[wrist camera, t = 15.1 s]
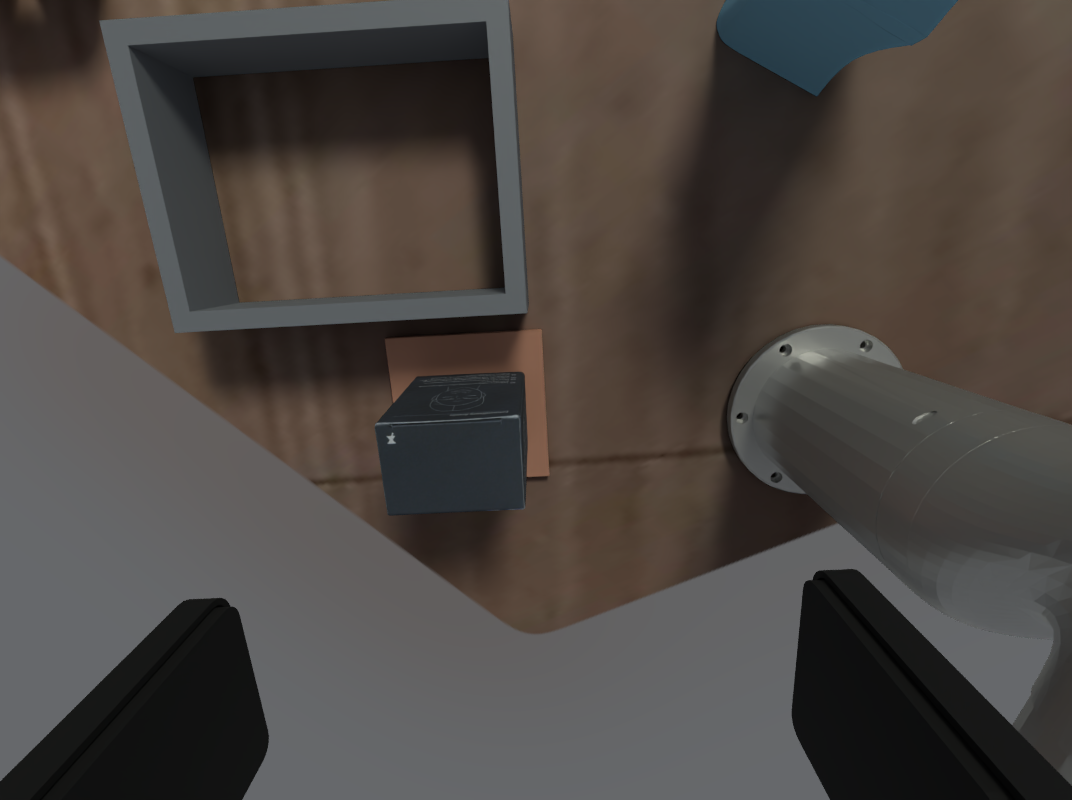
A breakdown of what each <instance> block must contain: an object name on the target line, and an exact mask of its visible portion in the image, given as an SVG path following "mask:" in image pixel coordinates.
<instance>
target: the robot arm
mask: <svg viewBox="0 0 1072 800" xmlns="http://www.w3.org/2000/svg"><path fill="white" fill-rule="evenodd" d="M861 343H862V345H861ZM782 345H783V350H782V351H780V352H779V350H780V347H781V346H782ZM860 345H861V346H860ZM739 413H741V415H740V416H739V417H737V415H738V414H739ZM727 426H728V434H729V437H730V440H731V444H732V447H733V449H734V451H735V452H736V454H737V456H738V457H739V459H740V461H741V462H742V463H743V464H744V465H745V466H746V467H747V469H748V470H749V471H750V472H752V473H753V474H754V475H755V476H756V477H757V478H758V479H760V480H761V481H763V482H764V483H766V484H768V485H769V486H771V487H774V488H777V489H780V490H783V491H786V492H791V493H799V494H807V495H808V496H809V497H811V498H812V499H813V500H814V501H815V502H816V503H817V504H818V505H819V506H820V507H821V508H823V509H824V510H825V511H826V512H827V513H828V514H829V515H830V516H831V517H832V518H833V519H835V520H836V521H837V522H838V523H839V524H840V525H841V526H842V527H843V528H844V529H846V530H847V531H848V532H849V533H850V534H851V535H852V536H853V537H854V538H855V539H856V540H857V541H858V542H860V543H861V544H862V545H863V546H864V547H865V548H866V549H867V550H868V551H869V552H870V553H872V554H873V555H874V556H875V557H876V558H877V559H878V560H879V561H880V562H882V564H884V565H885V566H886V567H887V568H888V569H889V570H890V571H891V572H892V573H893V574H894V575H895V576H896V577H898V579H900V580H901V581H902V582H903V583H904V584H905V585H907V587H908V588H909V589H911V590H912V591H913V592H914V593H915V594H916V595H917V596H919V597H920V598H921V599H922V600H924V601H925V602H926V603H928V604H929V605H930V606H932V607H934V608H935V609H937V610H938V611H940V612H941V613H943V614H945V615H947V616H949V617H950V618H953V619H955V620H957V621H959V622H962V623H964V624H967V625H969V626H972V627H975V628H978V629H982V630H985V631H989V632H994V633H999V634H1004V635H1009V636H1016V637H1025V638H1036V639H1047V640H1054V641H1053V646H1052V649H1051V652H1050V655H1049V657H1048V659H1047V661H1046V663H1045V665H1044V667H1043V669H1042V671H1041V673H1040V675H1039V677H1038V678H1037V680H1036V681H1035V683H1034V685H1033V686H1032V690H1031V696H1030V697H1029V699H1028V700H1027V702H1026V704H1025V706H1024V707H1023V709H1022V710H1021V712H1020V714H1019V715H1018V717H1017V718H1016V720H1015V722H1014V723H1013V725H1011V724H1010V723H1009V722H1008V721H1007V720H1006V719H1005V718H1004V717H1003V716H1002V715H1001V714H1000V713H999V712H998V711H997V710H996V709H995V708H994V707H993V706H992V705H991V704H990V703H989V702H988V701H987V700H986V699H985V698H984V697H983V696H982V695H981V694H980V693H979V692H978V691H977V690H976V689H975V688H974V686H972V684H970V682H969V681H968V680H967V679H966V678H964V676H963V675H962V674H961V673H959V671H957V670H956V668H955V667H954V666H953V665H952V664H951V663H950V662H949V661H948V660H947V659H946V658H945V657H944V656H943V655H942V654H941V653H940V652H939V651H938V650H937V649H936V648H935V647H934V646H933V645H932V644H931V643H930V642H929V641H928V640H927V639H926V638H925V637H924V636H923V635H922V634H921V633H920V632H919V631H918V630H917V629H916V628H915V627H914V626H913V625H912V624H911V623H910V622H909V621H908V620H907V619H906V618H905V617H904V616H903V615H902V614H901V613H900V612H899V611H898V610H897V609H896V608H895V607H894V606H893V605H892V604H891V603H890V602H889V601H888V600H887V599H886V598H885V597H884V596H883V595H882V594H881V593H880V592H879V591H878V590H877V589H876V588H875V587H874V586H873V585H872V584H871V583H870V582H869V581H868V580H867V579H866V578H865V577H864V576H863V575H862V574H861V573H860V572H859V571H857V570H854V569H846V570H823V571H818V572H816V573H815V575H814V577H813V580H809V581H806V582H805V584H804V587H803V596H802V608H801V617H800V628H799V639H798V649H797V660H796V671H795V682H794V692H793V693H794V694H793V703H792V720H793V725H794V729H795V732H796V735H797V737H798V739H799V741H800V743H801V745H802V747H803V749H804V751H805V753H806V755H807V757H808V759H809V760H810V762H811V764H812V766H813V768H814V770H815V772H816V774H817V776H818V777H819V779H820V781H821V783H822V785H823V787H824V789H825V791H826V793H827V794H828V796H829V798H830V800H1072V425H1070V424H1067V423H1064V422H1061V421H1058V420H1055V419H1052V418H1049V417H1046V416H1043V415H1040V414H1036V413H1033V412H1030V411H1027V410H1024V409H1021V408H1018V407H1015V406H1012V405H1009V404H1006V403H1003V402H1000V401H997V400H994V399H991V398H988V397H985V396H982V395H979V394H976V393H973V392H970V391H967V390H964V389H961V388H958V387H955V386H952V385H949V384H946V383H943V382H940V381H937V380H934V379H931V378H928V377H925V376H922V375H919V374H916V373H913V372H910V371H907V370H904V369H903V368H902V366H901V364H900V362H899V360H898V359H897V357H896V356H895V355H894V354H893V352H892V351H891V350H890V349H889V347H887V346H886V345H885V344H884V343H882V342H881V341H880V340H879V339H877V338H876V337H874V336H872V335H870V334H868V333H866V332H864V331H861V330H858V329H854V328H851V327H847V326H840V325H833V324H822V325H811V326H807V327H802V328H798V329H795V330H792V331H790V332H788V333H786V334H783V335H781V336H779V337H777V338H776V339H774V340H773V341H771V342H770V343H768V344H767V345H765V346H764V347H763V348H762V349H761V350H759V351H758V352H757V353H756V354H755V355H754V356H753V357H752V358H751V359H750V360H749V362H748V363H747V364H746V366H745V367H744V368H743V370H742V371H741V372H740V374H739V376H738V378H737V380H736V382H735V384H734V386H733V388H732V392H731V395H730V399H729V402H728V410H727ZM773 473H774V474H773ZM772 474H773V475H772ZM268 739H269V735H268V729H267V725H266V721H265V717H264V713H263V709H262V704H261V700H260V696H259V692H258V688H257V684H256V681H255V677H254V672H253V668H252V664H251V660H250V656H249V651H248V647H247V643H246V640H245V635H244V631H243V627H242V623H241V619H240V615H239V612H238V610H237V609H236V608H235V607H230V605H229V603H228V602H227V601H226V600H225V599H223V598H211V599H189V600H186V601H183V602H182V603H181V604H179V605H178V606H177V607H176V608H175V609H174V610H173V611H172V612H171V613H170V614H169V615H168V616H167V617H166V618H165V619H164V620H163V621H162V622H161V623H160V624H159V625H158V626H157V627H156V628H155V629H154V630H153V631H152V632H151V633H150V634H149V635H148V636H147V637H146V638H145V639H144V640H143V641H142V642H141V643H140V644H139V645H138V646H137V647H136V648H135V649H134V650H133V651H132V652H131V653H130V654H129V655H128V656H127V657H126V658H125V659H124V660H123V661H121V662H120V663H119V664H118V666H116V667H115V668H114V669H113V670H112V671H111V672H110V673H109V674H108V675H107V676H106V677H105V678H104V679H103V680H102V681H101V682H100V683H99V684H98V685H97V686H96V687H95V688H94V689H93V690H92V691H91V692H90V693H89V694H88V695H87V696H86V697H85V698H84V699H83V700H82V701H81V702H80V703H79V704H78V705H77V706H76V707H75V708H74V709H73V710H72V711H71V712H70V713H69V714H68V715H67V716H66V717H65V718H64V719H63V720H62V721H61V722H60V723H59V724H58V725H57V726H56V727H55V728H54V729H53V730H52V731H51V732H50V733H49V734H48V735H47V736H46V737H45V738H44V739H43V740H42V741H41V742H40V743H39V744H38V745H37V746H36V747H35V748H34V749H33V750H32V751H31V752H30V753H29V754H28V755H27V756H26V757H25V758H24V759H23V760H22V761H20V762H19V763H18V764H17V766H15V767H14V768H13V769H12V770H11V771H10V772H9V773H8V774H7V775H6V776H5V777H4V778H3V780H2V781H0V800H242V799H243V797H244V795H245V793H246V792H247V790H248V788H249V786H250V784H251V782H252V780H253V779H254V777H255V775H256V773H257V771H258V769H259V767H260V766H261V764H262V762H263V760H264V757H265V755H266V752H267V748H268V742H269V741H268Z"/></svg>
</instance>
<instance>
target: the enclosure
mask: <svg viewBox="0 0 1072 800" xmlns="http://www.w3.org/2000/svg"><path fill="white" fill-rule="evenodd" d="M99 22H100V26H101V30H102V34H103V38H104V43H105V47H106V51H107V55H108V59H109V63H110V67H111V71H112V76H113V80H114V84H115V88H116V92H117V96H118V100H119V104H120V108H121V113H122V117H123V121H124V125H125V129H126V133H127V137H128V141H129V146H130V150H131V154H132V158H133V162H134V166H135V170H136V174H137V179H138V183H139V187H140V191H141V195H142V199H143V203H144V207H145V212H146V216H147V220H148V224H149V228H150V232H151V236H152V240H153V245H154V249H155V253H156V257H157V261H158V265H159V269H160V273H161V278H162V282H163V286H164V290H165V294H166V298H167V302H168V306H169V310H170V315H171V319H172V323H173V327H174V331H175V333H181V332H199V331H217V330H235V329H252V328H270V327H288V326H306V325H324V324H342V323H360V322H378V321H395V320H413V319H431V318H449V317H467V316H485V315H503V314H520V313H527V311H528V305H529V300H528V283H527V266H526V250H525V233H524V216H523V199H522V182H521V165H520V148H519V132H518V115H517V98H516V81H515V64H514V47H513V32H512V24H511V16H510V8H509V0H394V1H379V2H365V3H350V4H335V5H321V6H306V7H291V8H277V9H262V10H247V11H233V12H218V13H204V14H189V15H174V16H160V17H145V18H130V19H116V20H101V21H99ZM480 58H489V66H490V80H491V95H492V109H493V123H494V137H495V151H496V165H497V179H498V194H499V208H500V222H501V236H502V250H503V264H504V278H505V288H490V289H472V290H455V291H437V292H420V293H402V294H385V295H367V296H350V297H332V298H315V299H297V300H279V301H262V302H244V303H239V299H238V294H237V289H236V284H235V279H234V275H233V270H232V265H231V260H230V255H229V250H228V245H227V241H226V236H225V231H224V226H223V221H222V216H221V212H220V207H219V202H218V197H217V192H216V187H215V182H214V178H213V173H212V168H211V163H210V158H209V153H208V148H207V144H206V139H205V134H204V129H203V124H202V119H201V115H200V110H199V105H198V100H197V95H196V90H195V85H194V81H193V77H206V76H221V75H237V74H252V73H267V72H282V71H297V70H313V69H328V68H343V67H358V66H373V65H388V64H404V63H419V62H434V61H449V60H464V59H480Z"/></svg>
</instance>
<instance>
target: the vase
mask: <svg viewBox="0 0 1072 800" xmlns="http://www.w3.org/2000/svg"><path fill="white" fill-rule="evenodd" d="M957 1H958V0H726V1H725V3H724V5H723V7H722V9H721V11H720V13H719V16H718V19H717V30H718V33H719V36H720V38H721V40H722V41H723V42H724V43H725V44H726V45H728V46H729V47H730V48H732V49H733V50H735V51H737V52H738V53H740V54H742V55H744V56H745V57H747V58H749V59H751V60H752V61H754V62H756V63H758V64H760V65H761V66H763V67H765V68H767V69H768V70H770V71H772V72H774V73H776V74H777V75H779V76H781V77H783V78H784V79H786V80H788V81H790V82H792V83H793V84H795V85H797V86H799V87H801V88H802V89H804V90H806V91H808V92H809V93H811V94H813V95H815V96H818V95H819V93H820V92H821V91H822V90H823V88H824V87H825V86H826V85H827V83H828V82H829V81H830V80H831V79H832V78H833V77H834V76H835V75H836V74H837V73H838V72H839V71H840V70H841V69H842V68H843V67H844V66H846V65H847V64H849V63H850V62H851V61H853V60H855V59H857V58H859V57H861V56H863V55H865V54H868V53H872V52H875V51H878V50H883V49H888V48H894V47H901V46H907V45H911V46H912V45H913V44H915V43H917V42H919V41H921V40H923V39H924V38H926V37H927V36H928V35H929V34H930V33H931V32H932V30H933V29H934V28H935V27H936V26H937V24H938V23H939V22H940V21H941V20H942V18H943V17H944V16H945V15H946V14H947V12H948V11H949V10H950V9H951V8H952V7H953V6H954V4H955V3H956V2H957Z"/></svg>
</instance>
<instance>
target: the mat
mask: <svg viewBox="0 0 1072 800" xmlns="http://www.w3.org/2000/svg"><path fill="white" fill-rule="evenodd" d="M385 345H386V353H387V360H388V368H389V375H390V382H391V390H392V397H393V403H394V402H395V401H396V400H397V399H398V398H399V396H400V395H401V394H402V393H403V392H404V391H405V389H406V388H407V387H408V386H409V385H410V384H411V382H412V381H413V380H414V379H415V378H416V377H417V376H435V375H454V374H476V373H499V372H523V373H524V375H525V392H526V414H527V435H528V453H527V477H537V476H549V459H548V440H547V422H546V403H545V384H544V366H543V347H542V329H532V330H514V331H496V332H478V333H459V334H441V335H423V336H405V337H387V338H385Z"/></svg>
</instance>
